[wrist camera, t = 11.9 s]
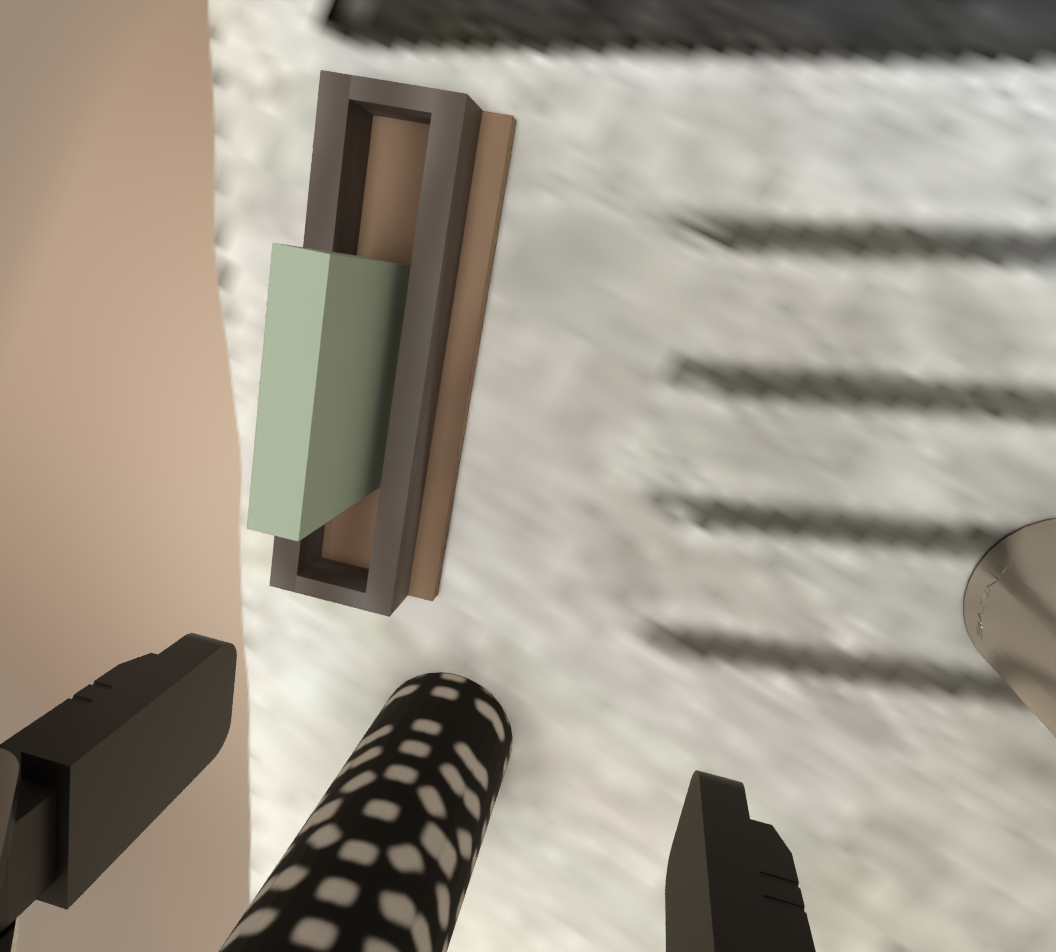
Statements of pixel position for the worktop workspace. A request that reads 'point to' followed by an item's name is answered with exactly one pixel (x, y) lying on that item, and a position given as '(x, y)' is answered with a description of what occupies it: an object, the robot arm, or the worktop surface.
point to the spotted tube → (390, 831)
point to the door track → (405, 316)
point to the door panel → (324, 386)
